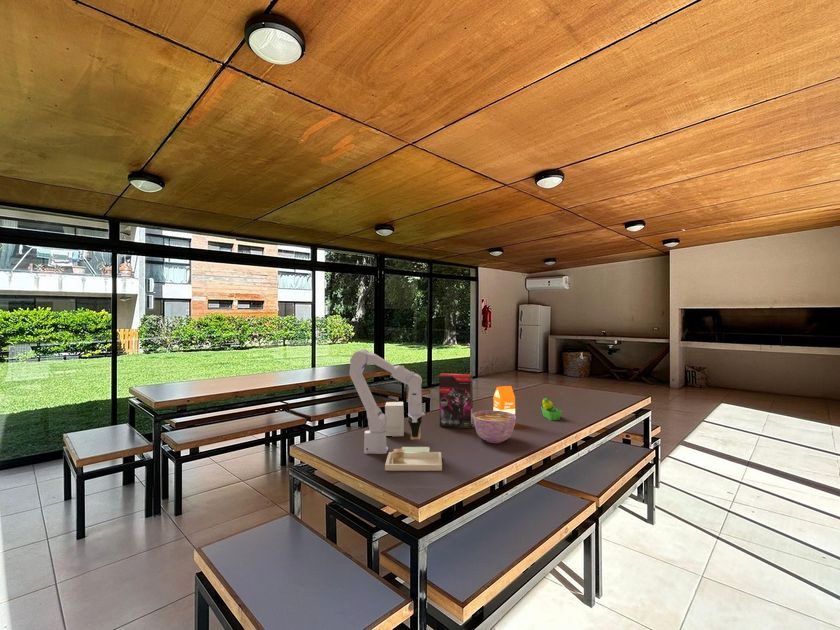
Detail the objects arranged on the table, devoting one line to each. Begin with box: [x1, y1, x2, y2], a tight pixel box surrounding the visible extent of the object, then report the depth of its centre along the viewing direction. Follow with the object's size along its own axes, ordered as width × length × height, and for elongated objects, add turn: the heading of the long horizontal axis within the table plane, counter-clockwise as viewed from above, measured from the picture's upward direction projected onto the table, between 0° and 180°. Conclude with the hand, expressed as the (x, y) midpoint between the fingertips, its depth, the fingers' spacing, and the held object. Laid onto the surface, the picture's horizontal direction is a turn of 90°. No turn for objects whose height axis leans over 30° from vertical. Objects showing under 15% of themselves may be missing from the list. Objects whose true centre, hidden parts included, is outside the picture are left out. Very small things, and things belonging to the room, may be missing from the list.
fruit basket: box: [540, 397, 563, 421], centre depth 223 cm, size 11×9×11 cm
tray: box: [384, 451, 443, 472], centre depth 154 cm, size 21×14×2 cm, turn 89°
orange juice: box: [492, 385, 516, 416], centre depth 211 cm, size 8×9×20 cm
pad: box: [401, 446, 431, 452], centre depth 168 cm, size 12×10×1 cm
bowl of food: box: [473, 409, 517, 444], centre depth 183 cm, size 20×20×12 cm
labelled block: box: [410, 426, 421, 440], centre depth 168 cm, size 4×4×5 cm
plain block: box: [392, 448, 404, 464], centre depth 154 cm, size 4×4×5 cm
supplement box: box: [384, 401, 405, 437], centre depth 194 cm, size 9×9×15 cm
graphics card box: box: [438, 372, 474, 429], centre depth 207 cm, size 17×7×27 cm, turn 73°
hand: (415, 435), depth 168 cm, fingers closed on labelled block, 4 cm apart
